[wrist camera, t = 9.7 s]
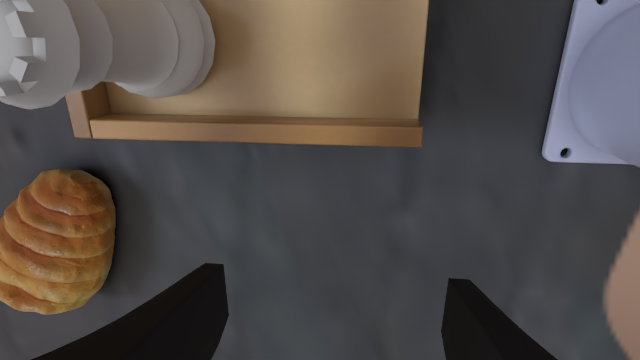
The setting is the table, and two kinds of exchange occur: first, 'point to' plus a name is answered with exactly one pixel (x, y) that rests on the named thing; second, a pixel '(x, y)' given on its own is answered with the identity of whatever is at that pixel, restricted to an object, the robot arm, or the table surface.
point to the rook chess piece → (101, 48)
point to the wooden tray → (284, 79)
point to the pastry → (56, 242)
